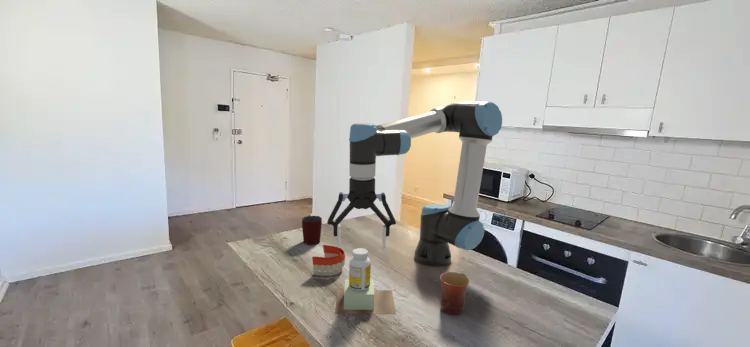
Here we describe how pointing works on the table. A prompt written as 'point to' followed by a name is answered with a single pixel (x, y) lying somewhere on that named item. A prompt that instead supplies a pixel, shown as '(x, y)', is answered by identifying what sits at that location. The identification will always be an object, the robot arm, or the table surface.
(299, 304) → the table surface
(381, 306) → the plate
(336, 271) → the denture model
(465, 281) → the mug
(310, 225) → the mug
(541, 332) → the table surface
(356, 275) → the pill bottle
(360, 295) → the brick
